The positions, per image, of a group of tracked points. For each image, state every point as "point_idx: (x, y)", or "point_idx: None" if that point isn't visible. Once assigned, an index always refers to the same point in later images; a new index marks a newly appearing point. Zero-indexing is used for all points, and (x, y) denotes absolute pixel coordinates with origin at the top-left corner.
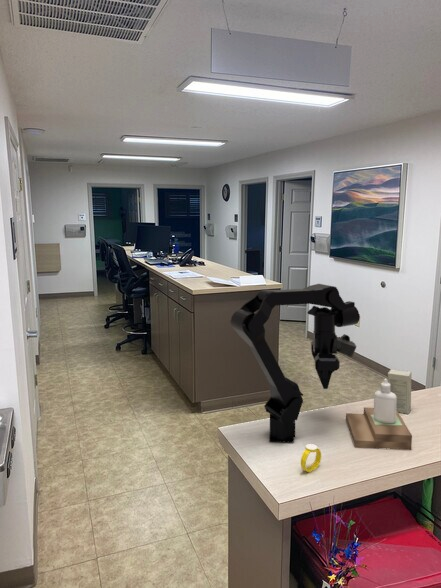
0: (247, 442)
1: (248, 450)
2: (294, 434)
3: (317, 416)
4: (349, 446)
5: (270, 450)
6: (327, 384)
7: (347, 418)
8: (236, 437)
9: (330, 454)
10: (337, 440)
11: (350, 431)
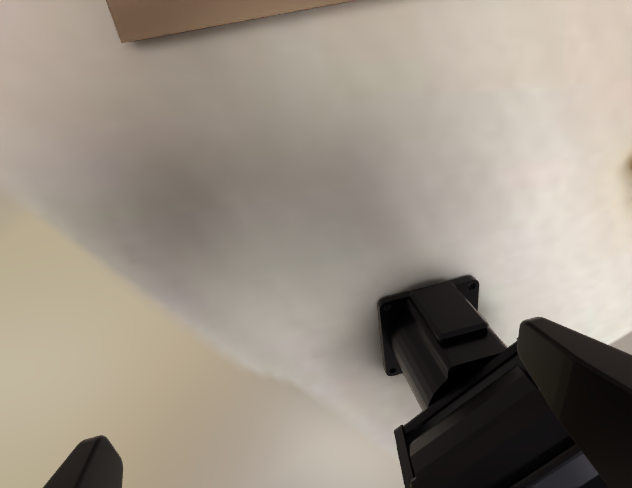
0: None
1: None
2: (459, 291)
3: (166, 228)
4: (492, 9)
5: None
6: (611, 359)
7: (200, 28)
8: None
9: (563, 110)
10: (432, 85)
11: (342, 2)
